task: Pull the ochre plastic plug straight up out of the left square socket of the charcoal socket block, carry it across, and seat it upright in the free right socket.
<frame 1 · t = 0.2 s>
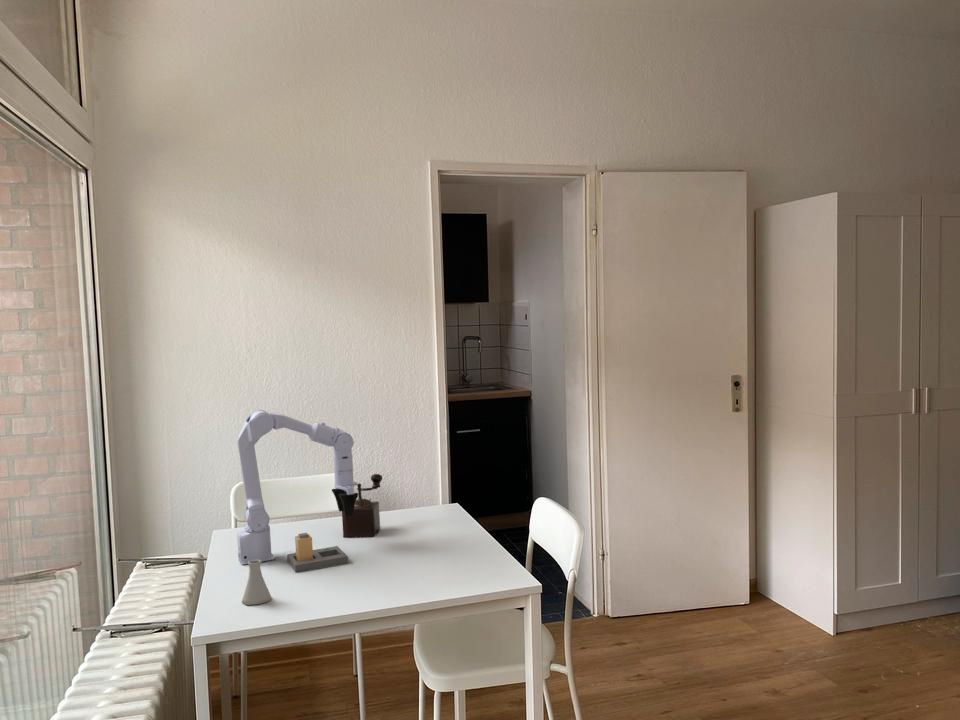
hand: (345, 513, 234), 10 cm above the table, fingers open, 7 cm apart
flask: (256, 601, 189), on the table
plug: (304, 564, 217), resting in socket block
manual coffee grinder: (364, 531, 251), on the table
socket block: (317, 562, 219), on the table
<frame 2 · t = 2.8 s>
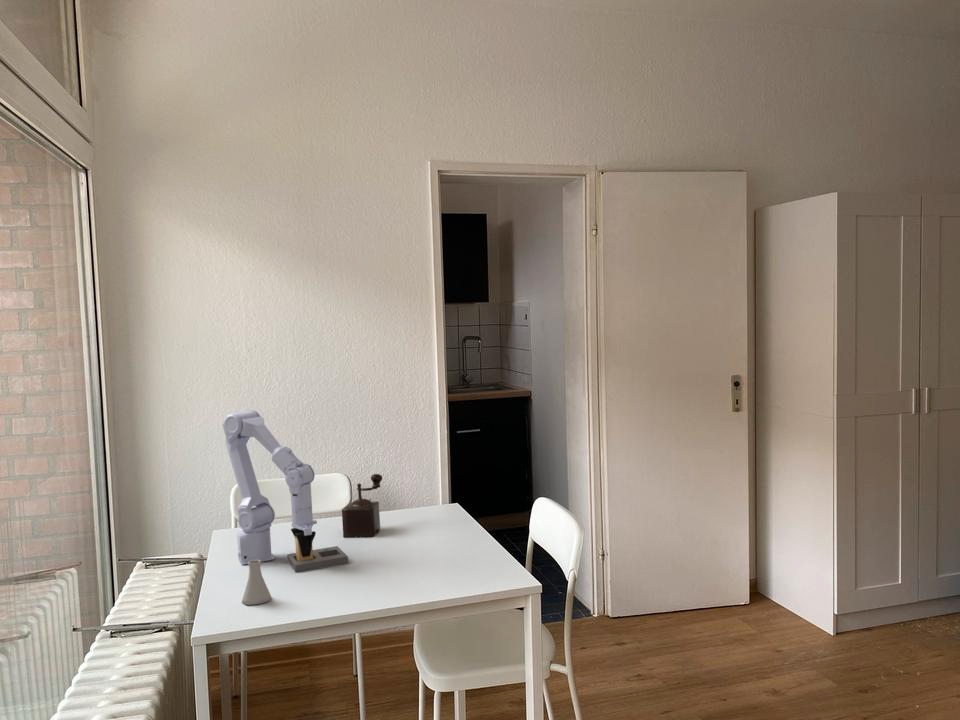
hand: (304, 554, 217), 3 cm above the table, fingers closed on plug, 4 cm apart
plug: (304, 564, 217), resting in socket block, touching gripper
everything else where it was.
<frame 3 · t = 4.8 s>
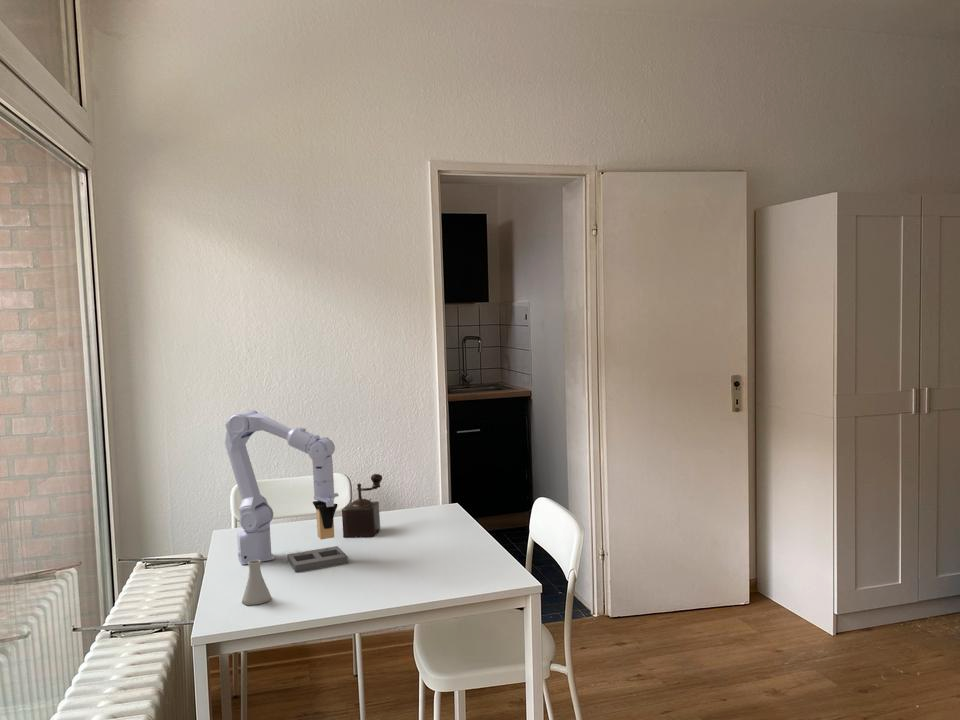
hand: (326, 526, 220), 10 cm above the table, fingers closed on plug, 4 cm apart
plug: (326, 536, 220), point 7 cm above the table, touching gripper
everything else where it was.
when the fingers open (4 cm above the table, at t = 7.1 s): plug stays where it is, resting in socket block.
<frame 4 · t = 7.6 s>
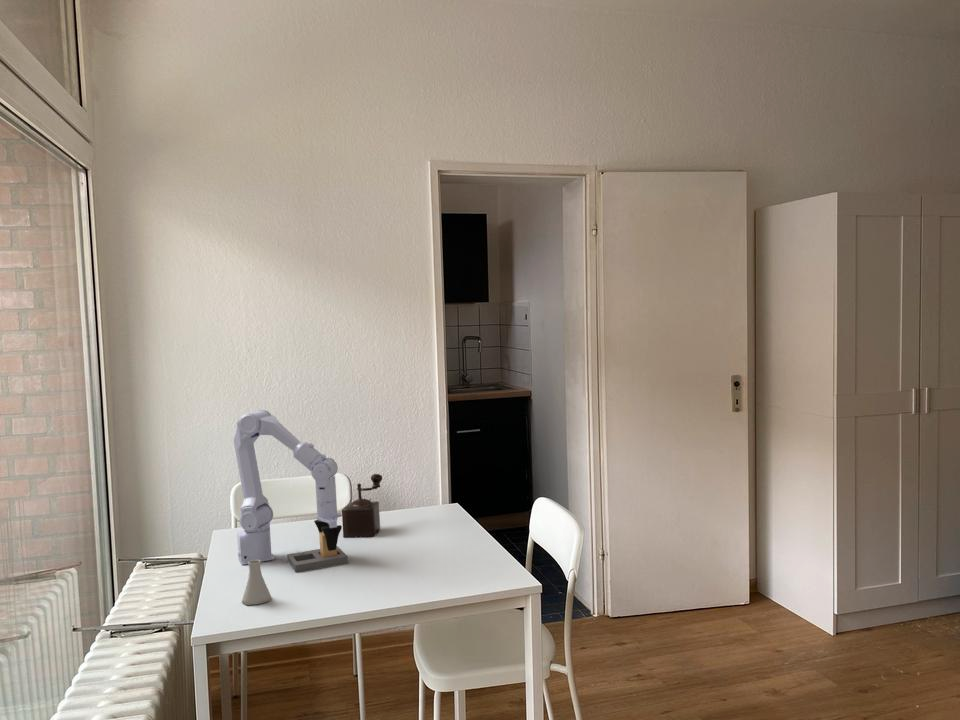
hand: (328, 546, 220), 4 cm above the table, fingers open, 7 cm apart
plug: (329, 560, 220), resting in socket block
everything else where it was.
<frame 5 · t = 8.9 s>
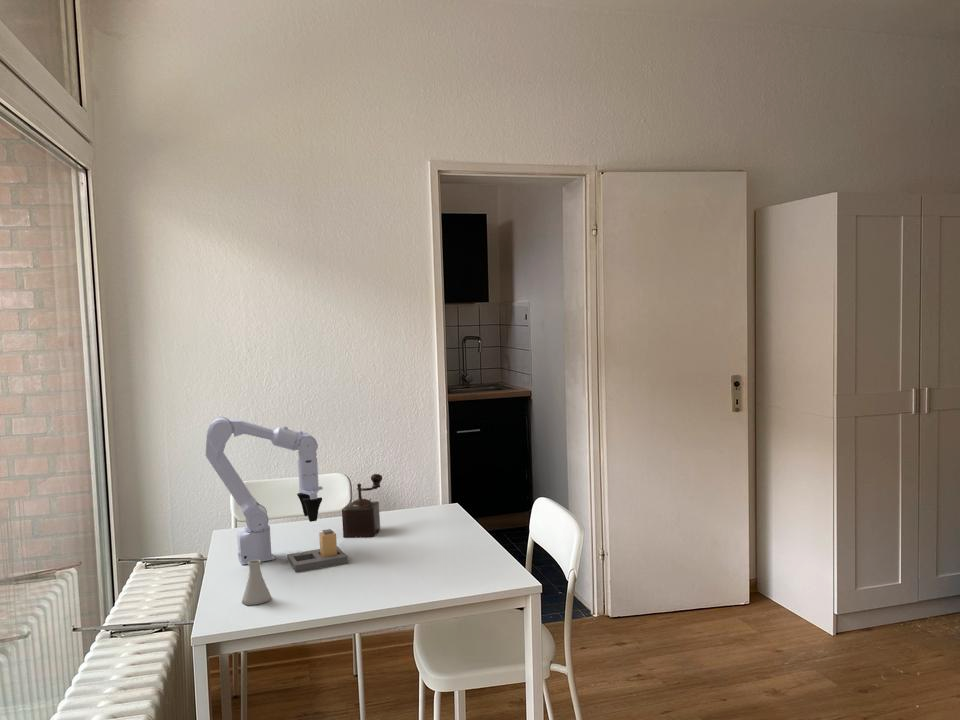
hand: (310, 518, 229), 10 cm above the table, fingers open, 7 cm apart
nothing on the table moved.
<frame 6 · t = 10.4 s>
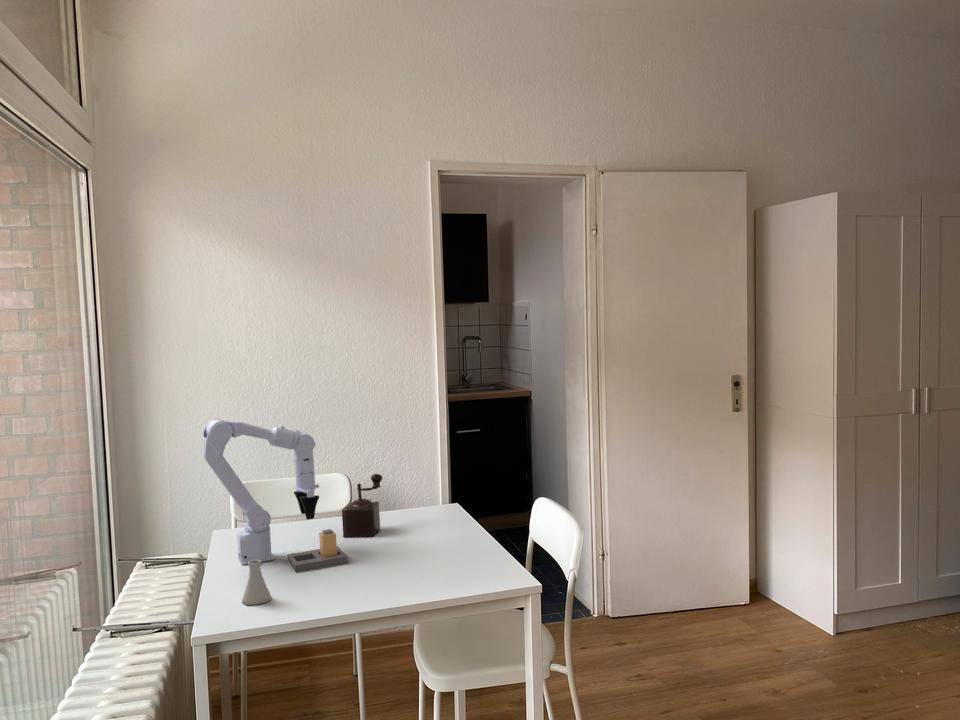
hand: (307, 516, 231), 10 cm above the table, fingers open, 7 cm apart
nothing on the table moved.
at the end: plug 0.2 cm from the target spot on the socket block, point 0.0 cm above the socket block's base; plug tilted 0°; the gripper is holding nothing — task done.
